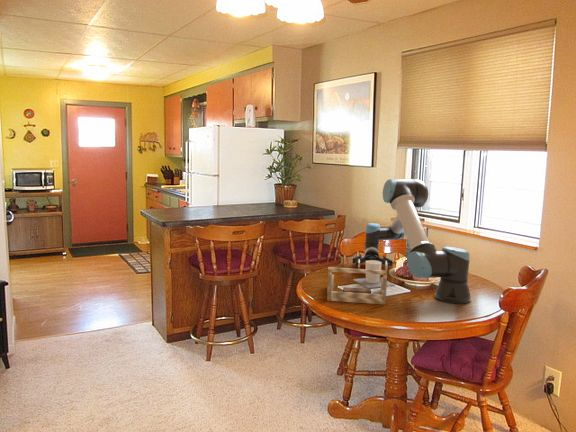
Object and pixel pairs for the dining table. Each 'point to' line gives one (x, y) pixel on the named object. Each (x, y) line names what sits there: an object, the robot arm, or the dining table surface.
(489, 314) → the dining table surface
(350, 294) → the frame
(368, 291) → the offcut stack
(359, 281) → the rubber mat
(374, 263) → the white cup
